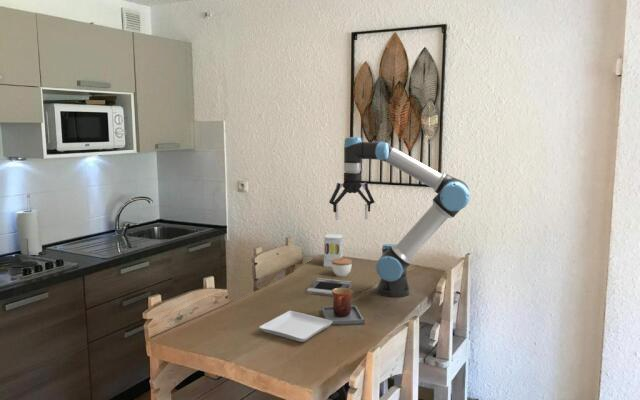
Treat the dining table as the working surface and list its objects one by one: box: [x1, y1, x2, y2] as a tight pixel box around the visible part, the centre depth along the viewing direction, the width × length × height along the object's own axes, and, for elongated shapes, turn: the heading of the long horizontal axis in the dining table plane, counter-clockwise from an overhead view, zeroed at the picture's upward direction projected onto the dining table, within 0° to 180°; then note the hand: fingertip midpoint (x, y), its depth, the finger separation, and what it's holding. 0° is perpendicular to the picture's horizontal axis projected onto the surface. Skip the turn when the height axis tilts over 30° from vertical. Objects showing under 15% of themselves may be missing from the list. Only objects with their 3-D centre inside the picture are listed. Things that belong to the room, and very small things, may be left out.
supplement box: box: [323, 233, 344, 268], centre depth 306 cm, size 10×9×17 cm
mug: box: [332, 288, 353, 317], centre depth 226 cm, size 12×9×10 cm
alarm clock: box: [306, 277, 352, 297], centre depth 262 cm, size 17×5×16 cm
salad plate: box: [259, 310, 332, 343], centre depth 212 cm, size 21×21×3 cm
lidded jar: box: [331, 256, 353, 278], centre depth 287 cm, size 11×11×9 cm
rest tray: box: [321, 305, 365, 327], centre depth 226 cm, size 15×17×2 cm
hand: (351, 219), depth 246 cm, fingers open, 13 cm apart
